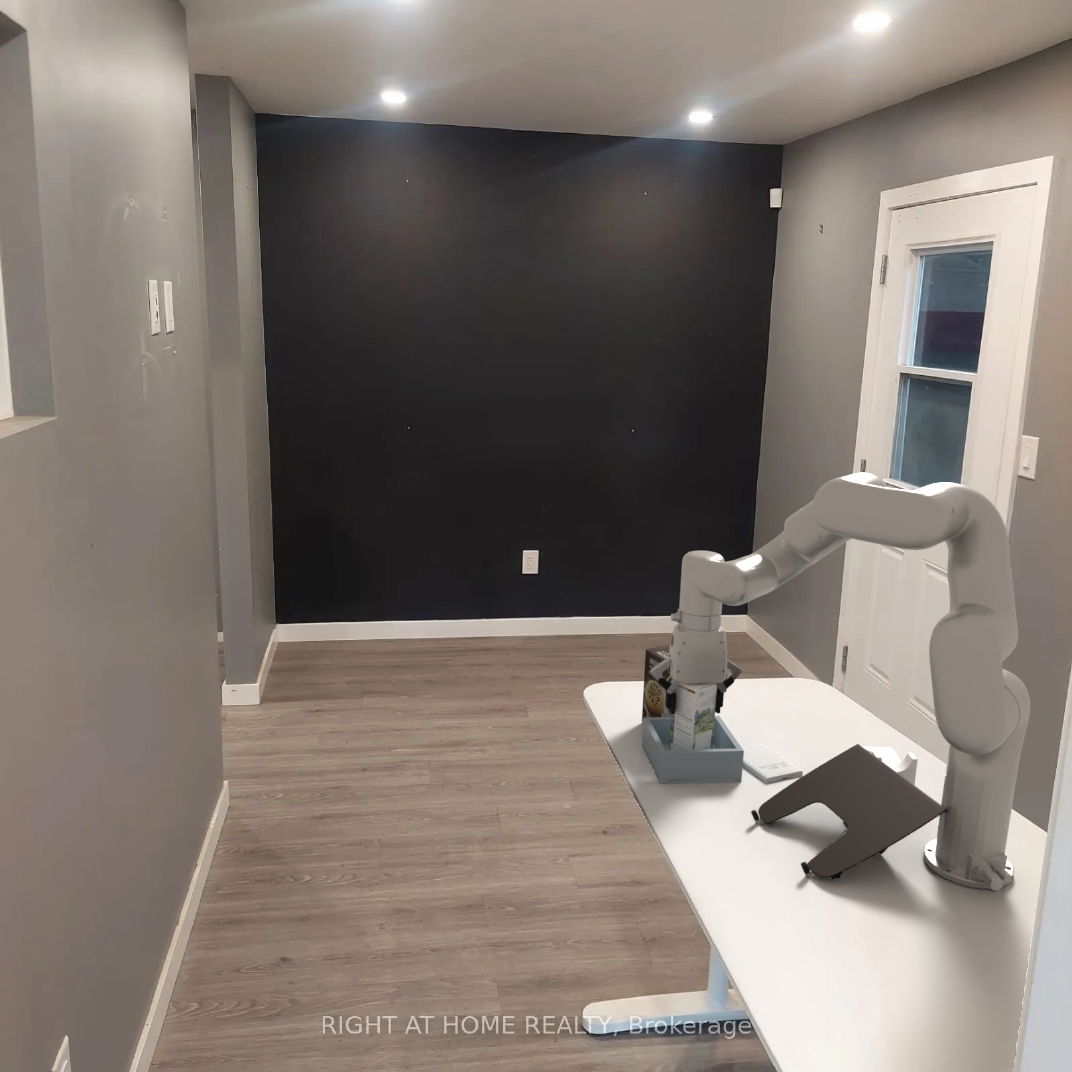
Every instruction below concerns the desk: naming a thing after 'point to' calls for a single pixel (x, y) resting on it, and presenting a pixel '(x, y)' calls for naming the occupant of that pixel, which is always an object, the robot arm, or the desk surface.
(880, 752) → the bracket
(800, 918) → the desk surface
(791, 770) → the external hard drive
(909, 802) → the portable electronic device stand
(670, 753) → the bin
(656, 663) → the coffee box
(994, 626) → the robot arm
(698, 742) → the syrup box
